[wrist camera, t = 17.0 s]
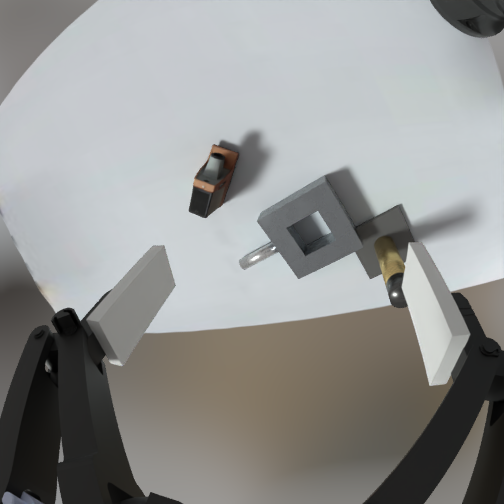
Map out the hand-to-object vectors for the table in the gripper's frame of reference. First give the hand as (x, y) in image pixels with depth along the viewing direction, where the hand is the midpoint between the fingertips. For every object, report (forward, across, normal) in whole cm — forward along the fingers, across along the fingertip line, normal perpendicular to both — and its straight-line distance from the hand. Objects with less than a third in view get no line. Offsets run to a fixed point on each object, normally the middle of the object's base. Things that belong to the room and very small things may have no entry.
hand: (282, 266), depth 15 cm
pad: (+32, +13, -15) cm, 37 cm away
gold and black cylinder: (+31, +13, -15) cm, 37 cm away
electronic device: (+32, -14, -2) cm, 35 cm away
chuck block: (+32, -3, -14) cm, 35 cm away
